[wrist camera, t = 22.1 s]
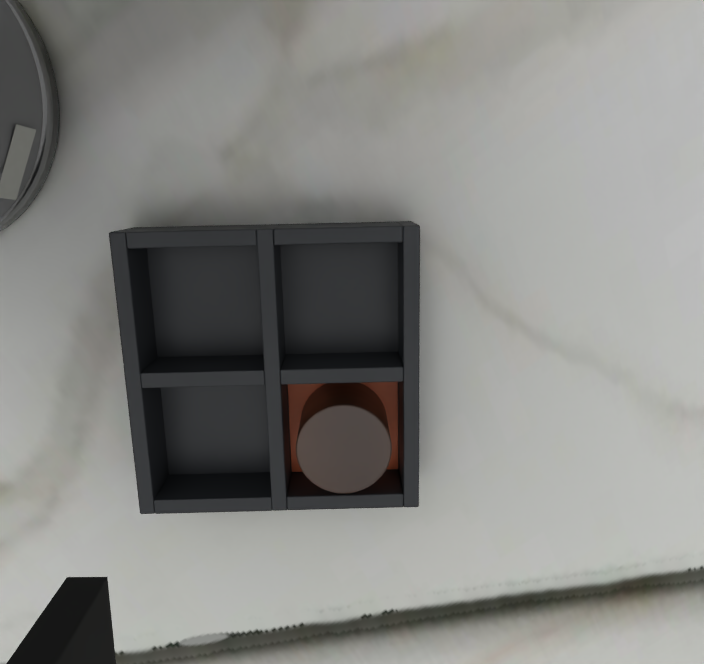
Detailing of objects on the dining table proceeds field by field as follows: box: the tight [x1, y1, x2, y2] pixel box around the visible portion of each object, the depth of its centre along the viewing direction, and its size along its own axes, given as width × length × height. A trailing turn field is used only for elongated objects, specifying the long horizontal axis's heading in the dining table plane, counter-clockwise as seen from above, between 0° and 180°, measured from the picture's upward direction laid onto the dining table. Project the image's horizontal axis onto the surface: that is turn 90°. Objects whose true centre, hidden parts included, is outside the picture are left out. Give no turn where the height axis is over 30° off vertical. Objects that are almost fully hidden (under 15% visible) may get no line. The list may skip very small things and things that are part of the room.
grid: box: [109, 221, 420, 514], centre depth 33 cm, size 15×15×4 cm
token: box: [296, 383, 392, 493], centre depth 33 cm, size 5×5×4 cm
